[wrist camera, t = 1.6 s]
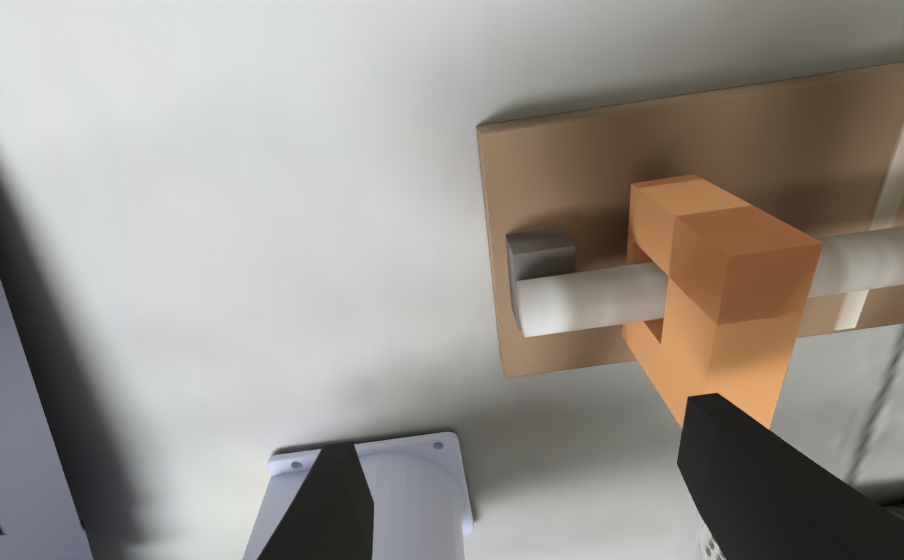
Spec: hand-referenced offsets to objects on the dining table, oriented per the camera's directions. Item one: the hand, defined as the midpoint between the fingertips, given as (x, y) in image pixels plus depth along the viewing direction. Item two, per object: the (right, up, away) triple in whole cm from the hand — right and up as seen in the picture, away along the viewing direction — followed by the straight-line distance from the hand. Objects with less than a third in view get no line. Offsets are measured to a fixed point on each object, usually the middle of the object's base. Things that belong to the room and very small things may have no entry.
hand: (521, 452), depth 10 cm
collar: (+6, +4, +6) cm, 9 cm away
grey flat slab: (-30, -1, +10) cm, 32 cm away
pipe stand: (+10, +6, +8) cm, 14 cm away
